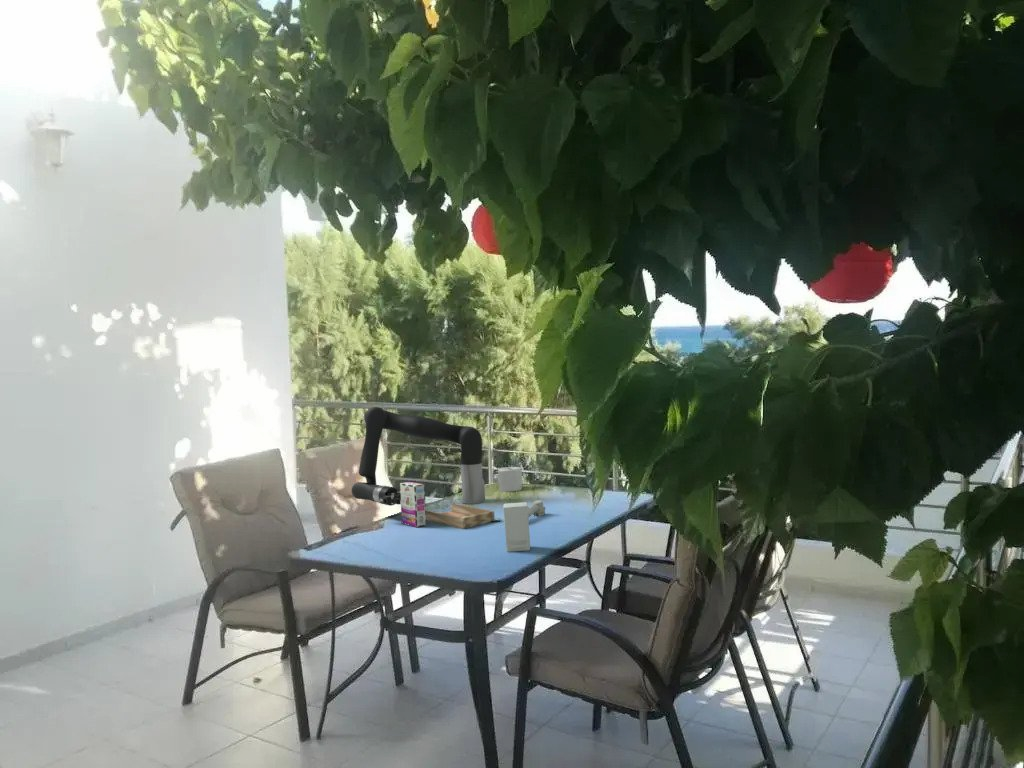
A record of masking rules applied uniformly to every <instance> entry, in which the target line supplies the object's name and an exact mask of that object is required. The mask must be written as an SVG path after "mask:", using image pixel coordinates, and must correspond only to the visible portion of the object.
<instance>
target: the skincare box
mask: <svg viewBox="0 0 1024 768" xmlns="http://www.w3.org/2000/svg"><path fill="white" fill-rule="evenodd" d="M503 517H504V530H505V531H504V532H505V533H504V534H505V535H504V536H505V546H506V547H505V549H506V552H507V553H509V552H510V553H511V552H523V551H525V552H527V551H528V552H529V551H531V540H530V523H529V518H528V503H527V502H526V501H524V502H509V503H503Z"/></svg>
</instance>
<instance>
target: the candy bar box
mask: <svg viewBox="0 0 1024 768" xmlns="http://www.w3.org/2000/svg"><path fill="white" fill-rule="evenodd" d="M425 485H426V484H424V483H419V482H414V481H413V482H412V481H406V482H400V483H399V488H400V489H399V492H400V496H401V502H400V503H401V504H400V513H401V514H400V515H401V523H402V522H403V523H406V524H409V525H412V526H411V527H413V526H415V527H414V528H420V527H425V526H427V521H426V510H427V507H426V488H425ZM409 525H408V526H409Z"/></svg>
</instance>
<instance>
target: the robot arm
mask: <svg viewBox="0 0 1024 768" xmlns="http://www.w3.org/2000/svg"><path fill="white" fill-rule="evenodd" d="M363 419H364V420H363V421H364V423H365V437H364V442H363V447H362V450H361V451H362V452H361V456H360V460H359V468H358V475H359V476H361V477H362V478H365V480H366V481H365V482H362V481H358V482H355V483H354V484H353V485H352V487H351V494H352V496H353V497H354V498H355V499H357V500H364V501H365V500H366V501H372V502H374V503H379V504H381V505H385V506H395V505H401V496H400V490H398V489H397V488H396V487H393V486H390V485H389V486H388V485H379V484H377V477H376V475H377V474H376V470H377V466H378V458H379V457H378V456H379V448H380V441H381V437H382V436H381V435H382V434H383V431H384V430H391V431H395V432H399V433H402V434H404V435H407V436H410V437H415V438H419V439H423V440H432V441H447V442H452V443H454V444H458V445H460V470H461V471H460V472H461V473H460V475H461V494H462V503H463V504H467V505H468V504H470V505H475V504H476V505H477V504H481V503H483V502H485V501H486V491H485V490H486V489H485V479H483V464H482V463H483V462H482V458H483V439H482V435H481V432H480V430H478V429H477V428H475V427H473V426H465V425H455V424H451V423H446V422H443V421H440V420H437V419H435V418H434V419H433V418H429V417H427V416H426V417H425V416H421V415H412V414H399V413H397V412H396V413H395V412H392V411H388V410H385V409H383V408H381V407H379V406H372V407H370V408H368V409H367V410H366V411H365V413H364V416H363Z"/></svg>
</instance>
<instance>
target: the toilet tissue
mask: <svg viewBox="0 0 1024 768" xmlns="http://www.w3.org/2000/svg"><path fill="white" fill-rule="evenodd" d="M497 475H498V476H497V477H498V492H500V493H501V492H503V493H504V492H518V491H522V490H523V482H522V481H523V480H522V479H523V476H522V475H523V474H522V467H519V466H507V467H501V468H499V469H498V472H497Z"/></svg>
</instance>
